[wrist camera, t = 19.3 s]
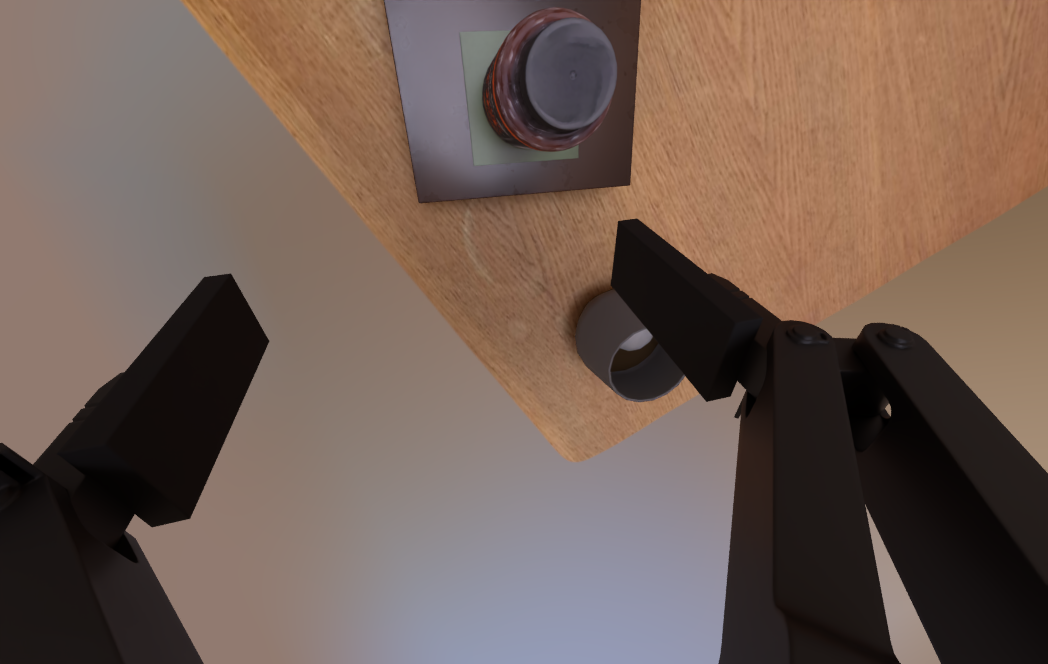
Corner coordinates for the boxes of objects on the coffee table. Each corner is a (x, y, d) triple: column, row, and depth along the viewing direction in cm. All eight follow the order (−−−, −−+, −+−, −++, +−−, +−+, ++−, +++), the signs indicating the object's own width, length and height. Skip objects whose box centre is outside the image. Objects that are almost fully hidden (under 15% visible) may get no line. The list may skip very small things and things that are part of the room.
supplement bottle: (468, 59, 25) (482, 1, 14) (558, 34, 25) (632, -40, 15) (494, 159, 27) (521, 169, 17) (575, 136, 28) (648, 132, 18)
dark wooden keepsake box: (423, 193, 33) (418, 203, 28) (381, -58, 26) (364, -112, 21) (602, 179, 35) (631, 185, 30) (609, -58, 28) (649, -107, 23)
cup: (638, 261, 39) (693, 295, 30) (657, 335, 44) (710, 384, 35) (552, 299, 40) (583, 344, 31) (580, 369, 44) (613, 426, 35)
